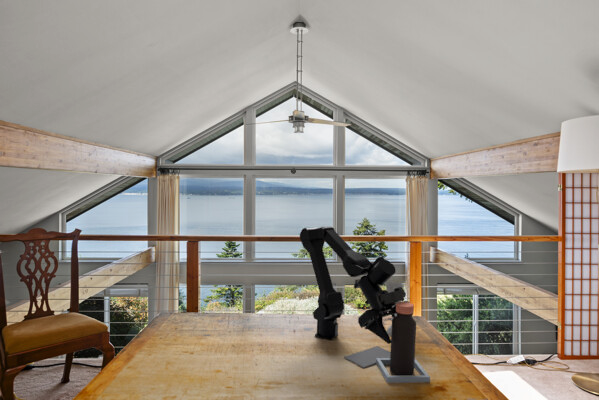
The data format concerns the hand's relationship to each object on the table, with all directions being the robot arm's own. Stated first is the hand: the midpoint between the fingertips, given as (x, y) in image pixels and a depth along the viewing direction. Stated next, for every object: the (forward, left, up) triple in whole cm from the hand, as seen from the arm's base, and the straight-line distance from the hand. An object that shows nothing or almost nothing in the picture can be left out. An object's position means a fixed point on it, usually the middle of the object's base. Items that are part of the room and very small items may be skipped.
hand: (400, 339), depth 122 cm
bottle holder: (+1, 0, -9) cm, 9 cm away
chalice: (-9, +29, -9) cm, 31 cm away
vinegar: (+1, 0, -9) cm, 10 cm away
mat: (-10, +5, -9) cm, 14 cm away
